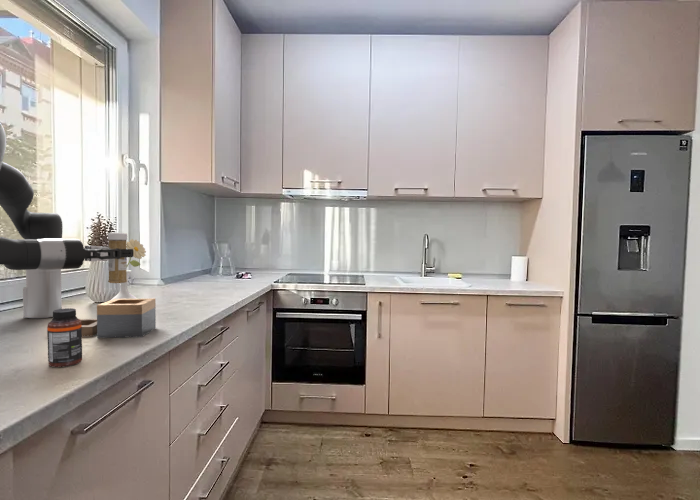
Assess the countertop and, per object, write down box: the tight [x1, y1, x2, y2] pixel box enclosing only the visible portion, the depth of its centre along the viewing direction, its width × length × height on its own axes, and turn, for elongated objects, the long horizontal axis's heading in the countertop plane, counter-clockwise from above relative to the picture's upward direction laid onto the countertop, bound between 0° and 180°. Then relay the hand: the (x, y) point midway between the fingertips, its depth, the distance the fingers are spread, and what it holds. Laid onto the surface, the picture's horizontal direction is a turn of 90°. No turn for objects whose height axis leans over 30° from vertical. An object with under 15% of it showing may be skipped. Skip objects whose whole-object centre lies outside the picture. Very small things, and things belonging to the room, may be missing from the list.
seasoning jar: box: [107, 232, 128, 284], centre depth 116 cm, size 5×5×13 cm
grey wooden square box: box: [96, 297, 157, 339], centre depth 117 cm, size 11×11×8 cm
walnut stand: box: [46, 318, 97, 338], centre depth 117 cm, size 11×11×2 cm
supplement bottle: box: [46, 307, 83, 368], centre depth 89 cm, size 6×6×11 cm
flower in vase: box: [110, 238, 147, 300], centre depth 151 cm, size 13×11×25 cm
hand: (127, 252), depth 118 cm, fingers closed on seasoning jar, 4 cm apart
